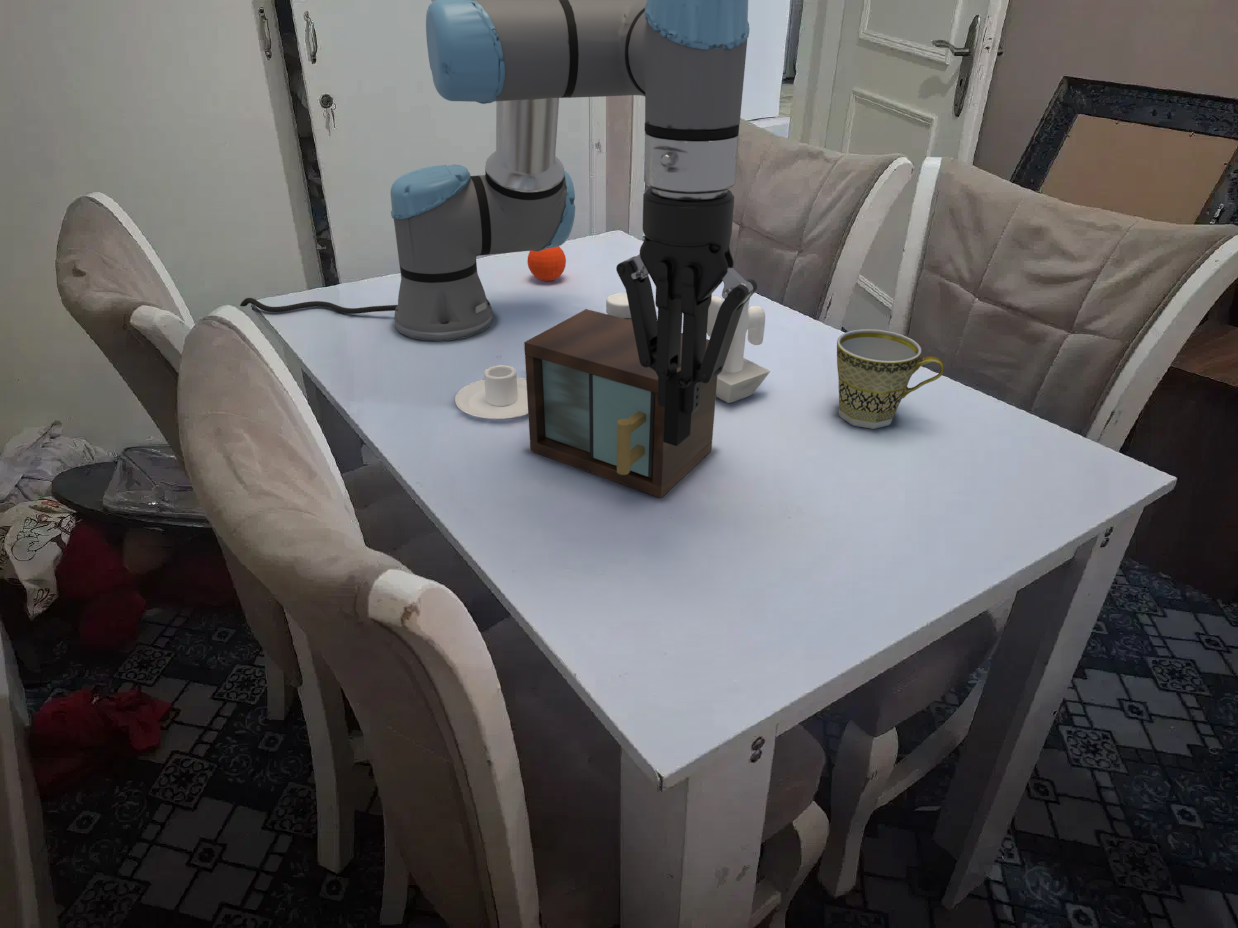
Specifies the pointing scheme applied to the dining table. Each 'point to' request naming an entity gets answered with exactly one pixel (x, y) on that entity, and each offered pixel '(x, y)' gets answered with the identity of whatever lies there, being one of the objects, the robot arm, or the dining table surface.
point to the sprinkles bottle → (618, 306)
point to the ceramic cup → (876, 375)
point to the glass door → (621, 425)
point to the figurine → (739, 353)
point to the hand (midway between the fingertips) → (676, 438)
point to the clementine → (547, 263)
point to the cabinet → (564, 399)
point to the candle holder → (495, 395)
